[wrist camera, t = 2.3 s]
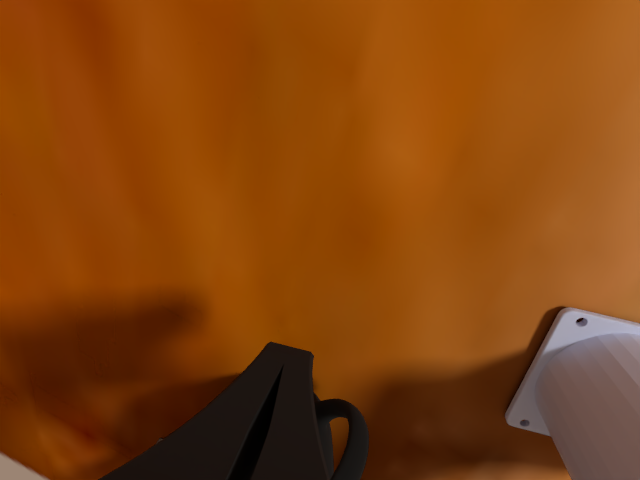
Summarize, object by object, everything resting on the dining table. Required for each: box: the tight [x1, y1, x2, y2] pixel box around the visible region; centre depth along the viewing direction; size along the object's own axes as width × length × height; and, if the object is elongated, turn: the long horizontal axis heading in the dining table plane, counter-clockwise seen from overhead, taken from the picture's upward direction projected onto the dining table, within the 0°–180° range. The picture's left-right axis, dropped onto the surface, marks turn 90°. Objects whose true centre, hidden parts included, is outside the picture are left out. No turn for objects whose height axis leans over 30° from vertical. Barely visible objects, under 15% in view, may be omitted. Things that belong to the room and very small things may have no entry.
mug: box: [313, 392, 369, 480], centre depth 20 cm, size 12×9×10 cm
